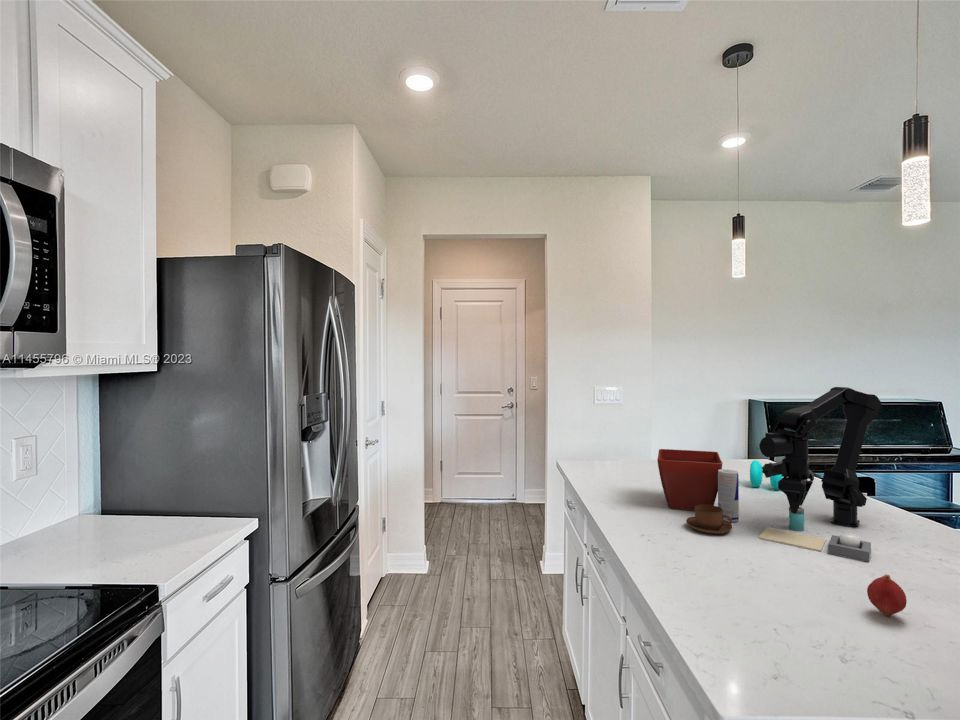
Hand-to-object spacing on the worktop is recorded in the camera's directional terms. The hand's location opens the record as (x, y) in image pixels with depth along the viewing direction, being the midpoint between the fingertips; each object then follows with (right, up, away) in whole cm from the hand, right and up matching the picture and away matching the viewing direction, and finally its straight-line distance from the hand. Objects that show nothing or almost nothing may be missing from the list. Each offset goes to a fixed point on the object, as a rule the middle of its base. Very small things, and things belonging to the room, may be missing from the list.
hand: (796, 509), depth 139 cm
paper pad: (-6, -6, -8) cm, 12 cm away
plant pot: (-21, -6, +23) cm, 32 cm away
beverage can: (-15, -6, +8) cm, 19 cm away
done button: (+2, -4, -17) cm, 18 cm away
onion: (-13, -6, -46) cm, 48 cm away
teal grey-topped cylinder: (0, -6, 0) cm, 6 cm away
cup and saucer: (-25, -6, +1) cm, 26 cm away
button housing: (+2, -6, -17) cm, 18 cm away
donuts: (+17, -6, +43) cm, 46 cm away
